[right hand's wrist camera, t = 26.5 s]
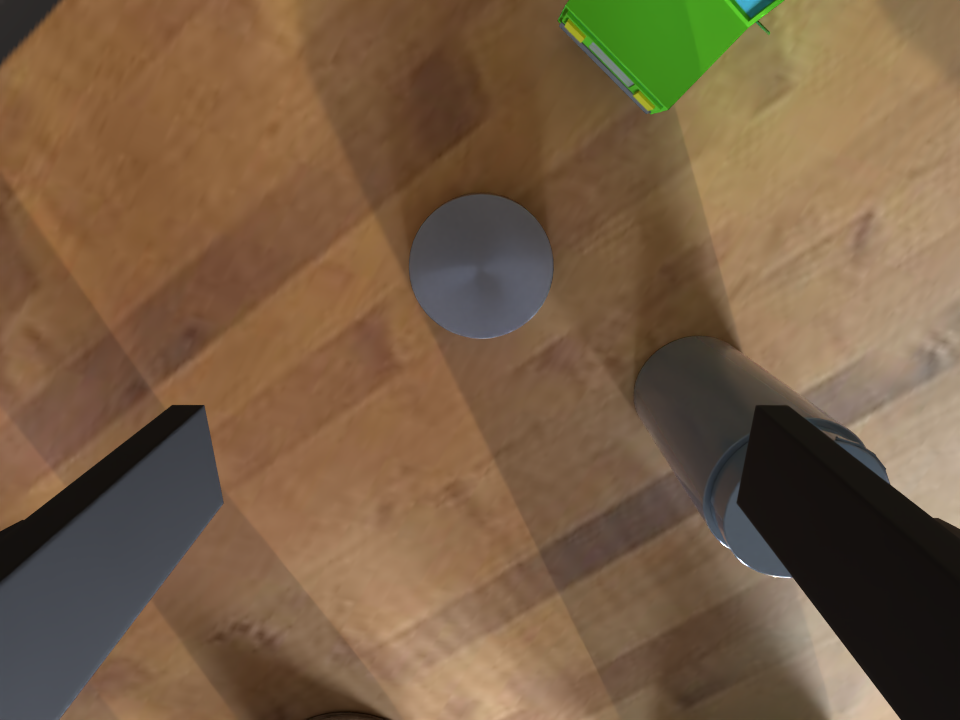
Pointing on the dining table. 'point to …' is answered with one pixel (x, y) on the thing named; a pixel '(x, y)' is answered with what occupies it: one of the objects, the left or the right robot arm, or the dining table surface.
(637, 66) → the green blue-banded case
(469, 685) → the dining table surface
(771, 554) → the jar
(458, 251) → the lid
